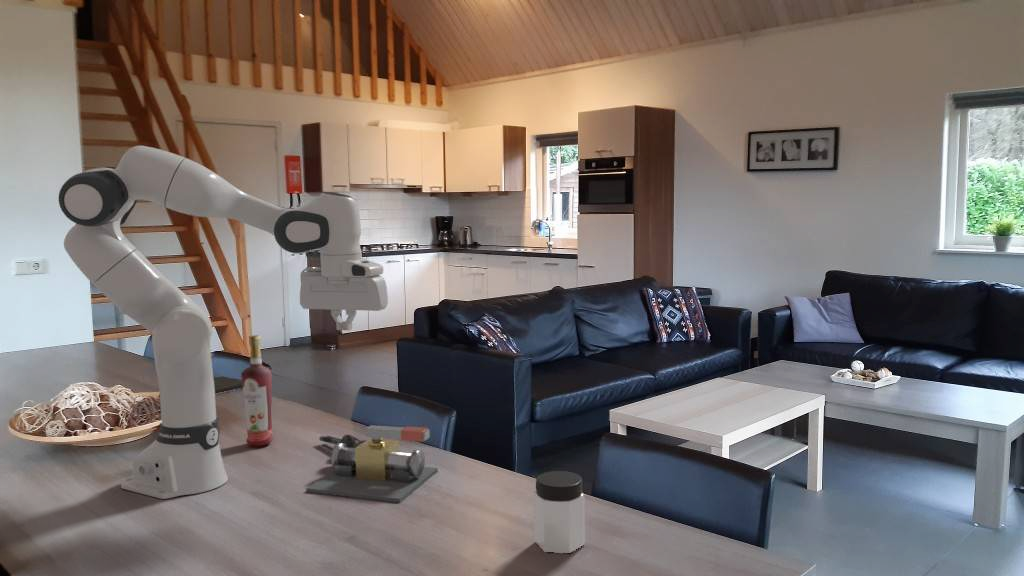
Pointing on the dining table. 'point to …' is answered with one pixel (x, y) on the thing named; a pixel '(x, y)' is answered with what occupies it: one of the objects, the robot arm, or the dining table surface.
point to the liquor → (257, 397)
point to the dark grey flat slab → (226, 384)
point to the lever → (397, 433)
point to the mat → (369, 486)
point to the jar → (559, 512)
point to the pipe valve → (377, 461)
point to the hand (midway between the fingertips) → (344, 329)
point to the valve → (343, 440)
